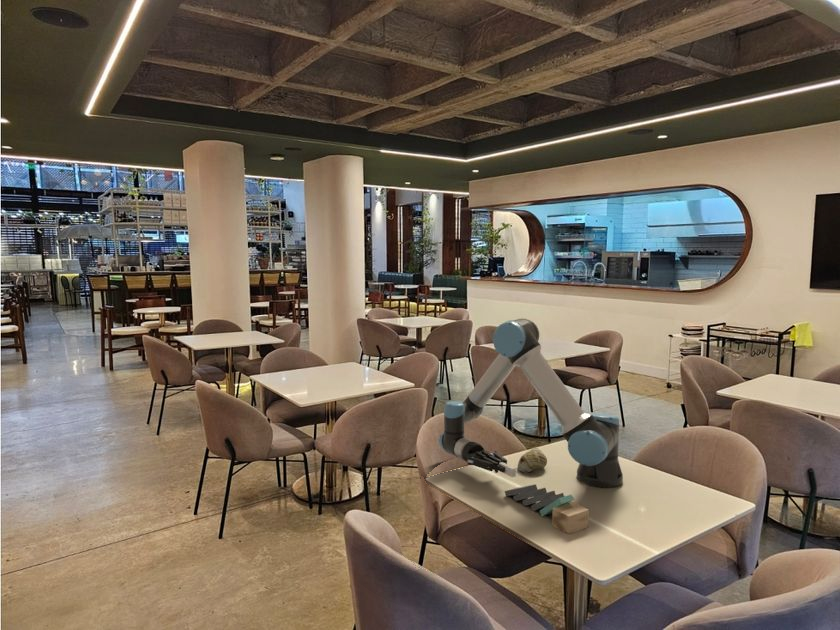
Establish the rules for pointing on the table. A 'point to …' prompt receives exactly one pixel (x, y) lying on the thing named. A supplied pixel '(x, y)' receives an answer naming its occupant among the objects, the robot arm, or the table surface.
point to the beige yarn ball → (532, 460)
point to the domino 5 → (556, 504)
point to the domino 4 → (546, 502)
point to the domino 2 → (530, 494)
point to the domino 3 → (538, 498)
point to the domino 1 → (521, 490)
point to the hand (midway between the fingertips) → (513, 472)
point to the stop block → (570, 517)
